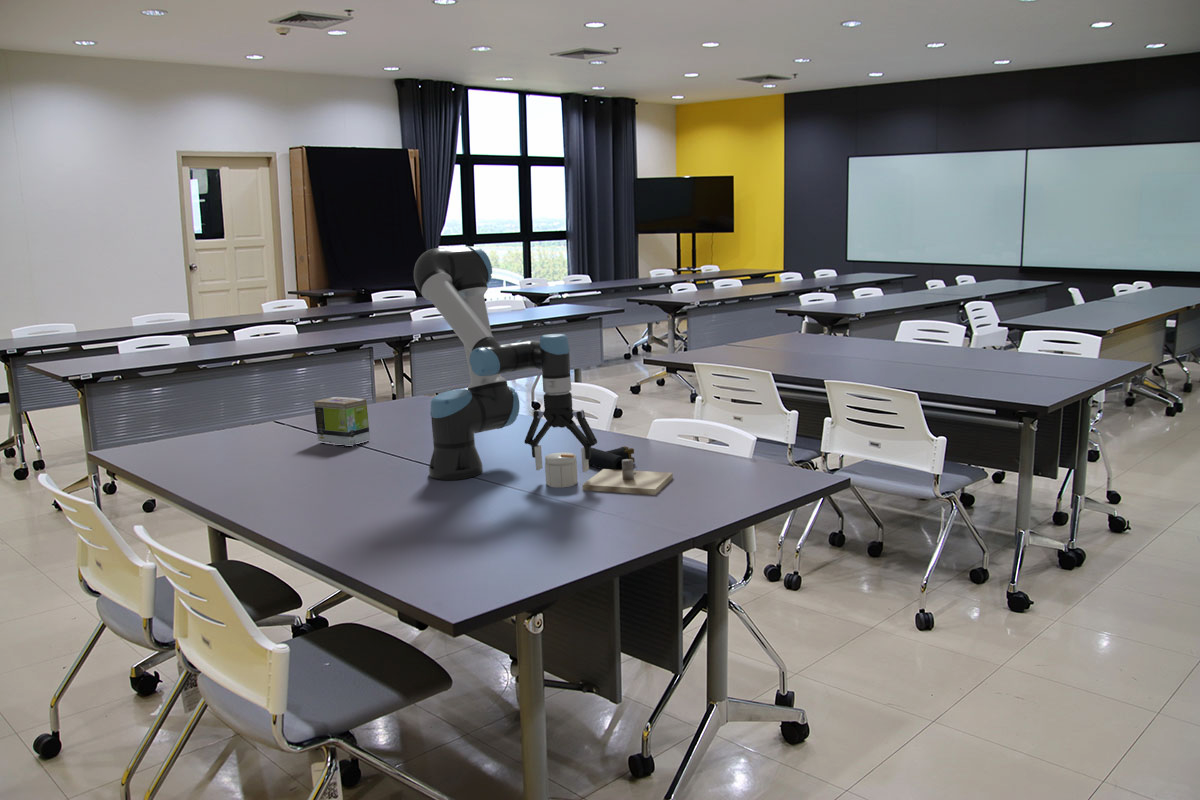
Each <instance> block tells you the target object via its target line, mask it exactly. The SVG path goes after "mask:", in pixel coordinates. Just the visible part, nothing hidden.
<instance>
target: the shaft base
mask: <svg viewBox="0 0 1200 800" xmlns="http://www.w3.org/2000/svg"><path fill="white" fill-rule="evenodd" d="M673 475H674V474H673V472H664V471H663V472H662V471H647V470H646V471H645V470H644V471H643V470H634V463H633V460H632V459H624V460H622V470H614V469H601V470H600V471H598V472H597V473H596V474H595V475H593V476H592V477H591V478H589V479H588V480H587V481H585V482H584V483H583V484H582V491H594V492H605V493H606V492H607V493H618V494H619V493H621V494H637V495H653V496H656V495H657V494H658V493H659V492H660V491H661V490H662V489H663V488H664V487H666V486H667V485H668V483H669V482H670V481H671V480H673V477H674V476H673Z"/></svg>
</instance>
